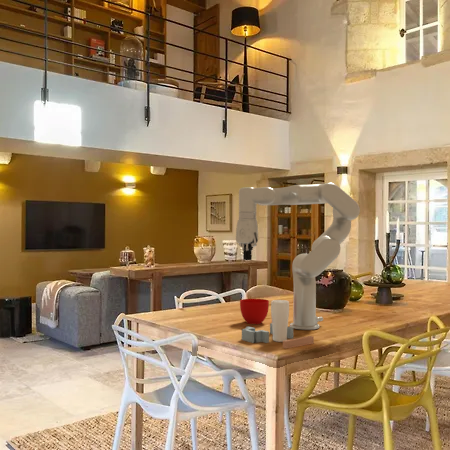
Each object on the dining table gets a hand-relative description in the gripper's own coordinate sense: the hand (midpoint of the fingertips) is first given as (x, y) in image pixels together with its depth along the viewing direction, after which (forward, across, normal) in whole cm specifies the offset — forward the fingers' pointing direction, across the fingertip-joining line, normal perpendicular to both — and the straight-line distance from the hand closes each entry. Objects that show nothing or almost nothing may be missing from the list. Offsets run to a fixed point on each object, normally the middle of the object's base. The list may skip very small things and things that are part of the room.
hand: (247, 259), depth 218 cm
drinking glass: (+29, +25, -4) cm, 39 cm away
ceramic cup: (+29, -10, +12) cm, 33 cm away
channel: (+29, +24, -6) cm, 38 cm away
